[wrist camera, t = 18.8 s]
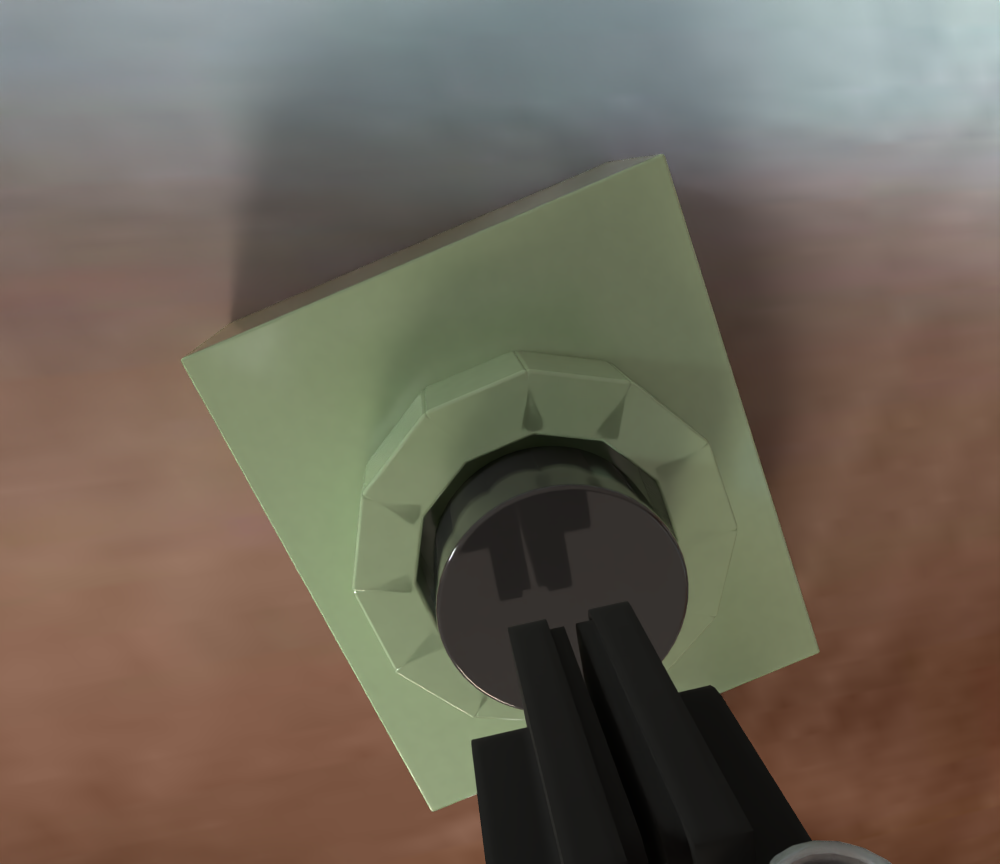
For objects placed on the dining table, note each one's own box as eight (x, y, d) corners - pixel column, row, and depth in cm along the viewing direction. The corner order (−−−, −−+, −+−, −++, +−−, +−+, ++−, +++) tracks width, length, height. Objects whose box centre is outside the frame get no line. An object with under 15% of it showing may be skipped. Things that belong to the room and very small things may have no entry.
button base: (228, 323, 19) (147, 382, 13) (611, 160, 19) (698, 147, 13) (428, 703, 23) (433, 876, 17) (748, 570, 22) (863, 700, 17)
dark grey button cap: (395, 498, 15) (392, 549, 13) (611, 407, 15) (644, 443, 13) (484, 679, 16) (494, 751, 14) (682, 598, 16) (721, 657, 14)
